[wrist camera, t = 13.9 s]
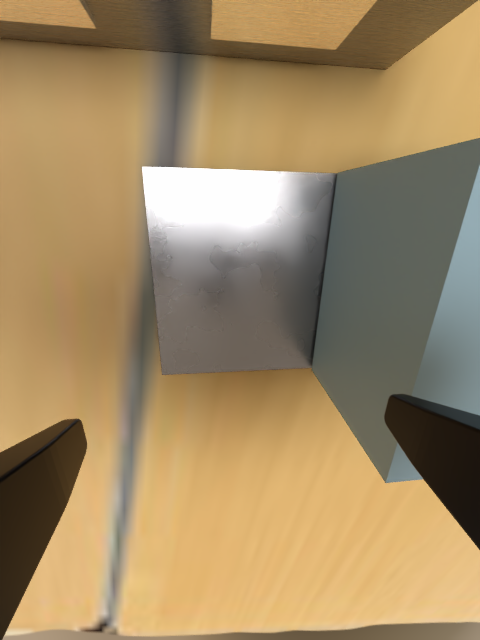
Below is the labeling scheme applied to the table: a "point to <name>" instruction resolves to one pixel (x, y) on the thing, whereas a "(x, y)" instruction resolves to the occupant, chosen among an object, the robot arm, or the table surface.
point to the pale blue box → (402, 294)
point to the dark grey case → (238, 185)
